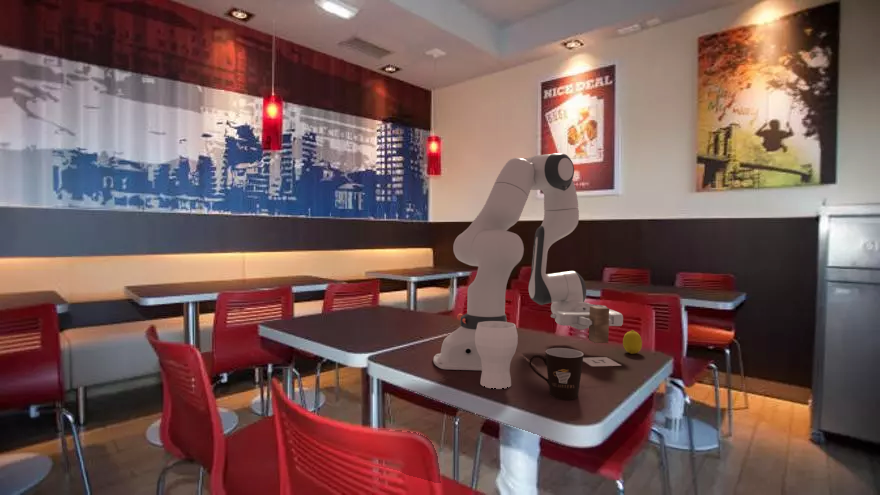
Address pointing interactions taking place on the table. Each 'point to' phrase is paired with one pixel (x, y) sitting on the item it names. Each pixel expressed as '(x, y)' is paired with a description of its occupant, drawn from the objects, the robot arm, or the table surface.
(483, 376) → the cup
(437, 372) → the table surface
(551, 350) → the coffee mug
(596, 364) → the tile
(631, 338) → the lemon
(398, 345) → the table surface
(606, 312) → the tall wooden block
